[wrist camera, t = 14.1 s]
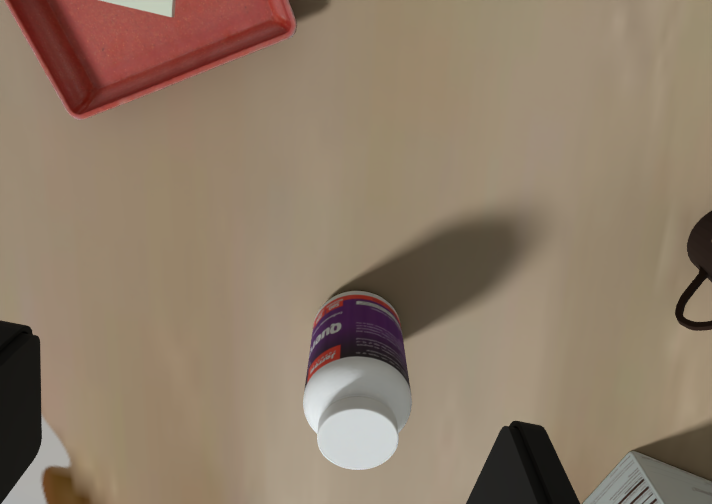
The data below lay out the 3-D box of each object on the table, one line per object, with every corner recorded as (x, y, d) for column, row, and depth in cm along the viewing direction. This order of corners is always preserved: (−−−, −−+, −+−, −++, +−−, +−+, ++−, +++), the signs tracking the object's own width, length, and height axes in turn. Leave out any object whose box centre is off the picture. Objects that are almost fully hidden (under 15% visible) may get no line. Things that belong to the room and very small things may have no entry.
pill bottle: (331, 273, 45) (322, 376, 32) (414, 302, 46) (437, 413, 33) (302, 344, 48) (281, 464, 35) (379, 370, 49) (388, 495, 36)
